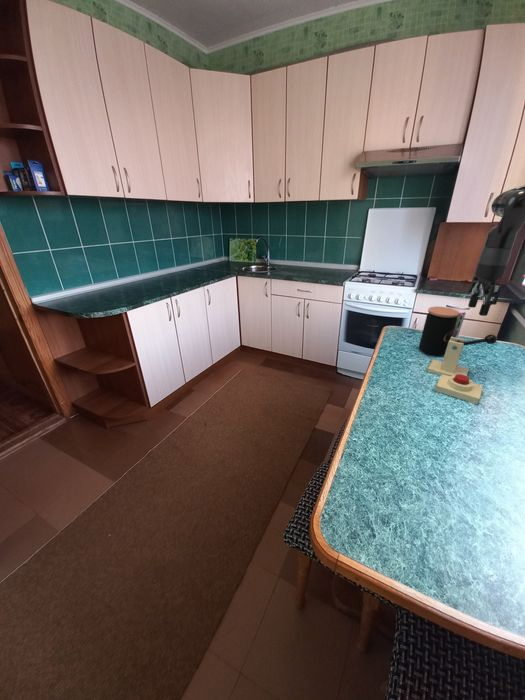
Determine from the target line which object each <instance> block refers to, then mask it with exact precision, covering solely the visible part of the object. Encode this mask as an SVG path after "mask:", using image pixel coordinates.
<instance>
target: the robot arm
mask: <svg viewBox="0 0 525 700" xmlns="http://www.w3.org/2000/svg"><path fill="white" fill-rule="evenodd" d="M490 208H491V212H492V213H493V215H495V216H496V217H500V220H499V223H498V224H497V225H496V226H493V227H491V228H490V229H489V231H488V232H487V236H486V239H485V243H484V246H483V249H482V250H481V252H480V255H479V259H478V262H477V265H476V269H475V271H474V276H473V277H472V280H471V283H470V286H469V289H468V294H469V296H470V298H469V301H468V305H467V307H468V308H473V309H474V308H476V307H477V305H478V301H479V299H480V298H481V299H482V300H481V301H482V303H481V306H480V308H479V312H478V315H479V316H482V317H486V316H488V315H489V311H490V309H491V306H492V305H497V303H498V300H499V296H500V293H501V290H502V287H503V286H502V285H497V281H498V280H501V279H504V276H505V274H506V270H507V267H508V264H509V261H510V259H511V255H512V250H513V247H514V245H515V241H516V239H517V235H518V233H519V232H520V231H521V229H522V227H523V226H524V224H525V184H524V185H520V186H517V187H514V188H511V189H508V190H505V191H503V192H501V193H500V194H499V195H497V196H496V197H495V198H494V199H493V201H492V203H491V207H490ZM479 297H480V298H479Z"/></svg>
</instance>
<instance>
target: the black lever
mask: <svg viewBox="0 0 525 700" xmlns="http://www.w3.org/2000/svg"><path fill="white" fill-rule="evenodd" d="M497 341H498V337H497V336H496V335H495V334H491V333H490V334H487V335H486V336H485V337H484V338H478V339H473V340H465V342H460V340H458V341H454V342H459V343H463V344H464V345H463V347H464V346H468V345H476V344H482V343H485V344H488V345H493V344H495V343H496V342H497Z"/></svg>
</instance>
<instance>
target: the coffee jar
mask: <svg viewBox="0 0 525 700" xmlns="http://www.w3.org/2000/svg"><path fill="white" fill-rule="evenodd" d="M457 310H458V309H454V308H451V307H447V306H446V307H445V306H439V307H437V306H431V307H428V309H427V312H428V313H427V314H426V316H425V317H426V318H425V321H424V324H423V329H422V333H421V337H420V341H419V344H418V347H419V350H420V352H421V353H423V354H425V355H427V356H430V357H431V356H432V357H444V356H445V352H446V349H447V346H448V342H449V340H450V339H451V337H452V335H453V332H454V329H455V326H456V322H457V316H458V315H459V312H458V311H459V310H458V311H457Z"/></svg>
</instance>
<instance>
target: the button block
mask: <svg viewBox="0 0 525 700" xmlns="http://www.w3.org/2000/svg"><path fill="white" fill-rule="evenodd" d="M454 378H455V375H453V376H447V375H443V374H442V375H440V377H439V379H438V381H437V383H436V385H435V388H434V391H435V392H437V393H441V394H442V395H443V394H444V395H447V396H450V397H453V398H456V399H459V400H463V401H466V402H468V403H472V404H475V405H479V402H480V400H481V396H482V391H483V387H484V386H483V384H482V385H481V384H478V383H474V381H473V380H472V379H470V380H469V383H468V385H461V384H458V383H456V382H454Z"/></svg>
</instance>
